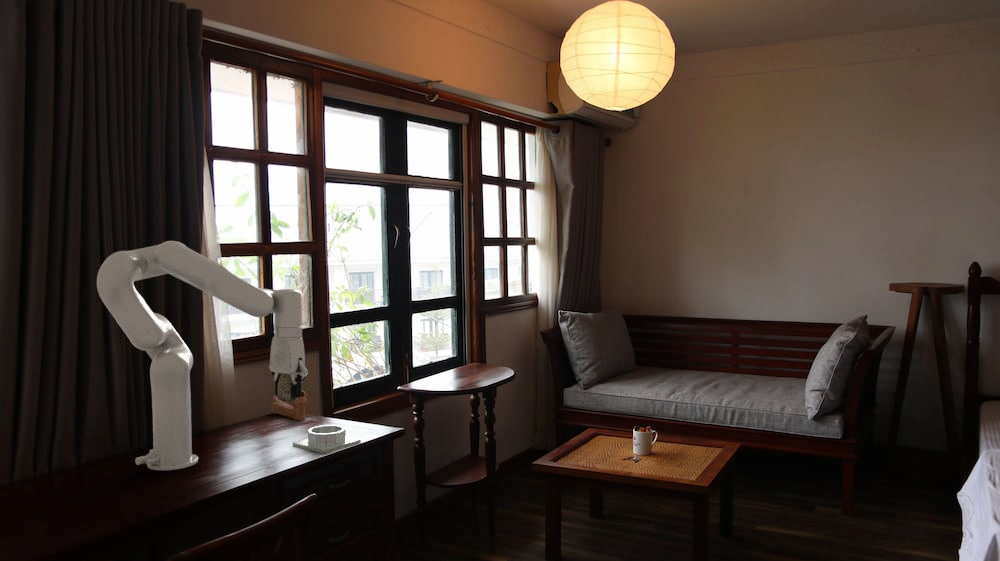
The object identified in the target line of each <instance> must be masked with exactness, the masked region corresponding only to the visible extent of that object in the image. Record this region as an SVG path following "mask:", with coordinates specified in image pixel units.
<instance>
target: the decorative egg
mask: <svg viewBox="0 0 1000 561" xmlns="http://www.w3.org/2000/svg"><path fill="white" fill-rule="evenodd" d="M280 374H281V375H280V378H279V381H278V386H277V393H278V395H277V397H278V399H279V400H281V401H283V402H285V403H287V404H289V403H292V402H293V401H294V400H295V399H296V398H291V384H293V383H292V379H291V375H289V374H282V373H280ZM295 377H296V378H297V375H295Z"/></svg>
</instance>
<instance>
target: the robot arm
mask: <svg viewBox="0 0 1000 561" xmlns="http://www.w3.org/2000/svg"><path fill="white" fill-rule="evenodd" d="M168 274H169V275H171V276H173V277H175V278H176V279H178V280H181V281H183V282H185V283H187V284H189V285H191V286H193V287H195V288H196V289H198V290H200V291H202V292H204V293H206V294H208V295H209V296H211V297H214V298H216V299H218V300H221V301H222V302H223V303H225V304H228V305H229V306H231V307H233V308H235V309H237V310H239V311H241V312H244V313H245V314H248V315H249V316H252V317H255V318H264V317H266V316H268V315H269V314H274V316H273V317H274V321H273V323H274V326H273V327H274V330H273V331H274V332H273V334H274V336H273V337H272V339H271V345H270V352H269V353H270V356H269V365H268V368H269V370H270V371H271V375H272V377H273V382H274V396H278V393H277V386H278V381H279V378H280V375H281V373H282V374H289V375H291V379H292V383H293V384H291V398H297V397H301V390H302V384H303V382H304V380H305V379H306V376H307V375H308V374H309V371H308V369H307V366H306V362H305V361H306V358H305V357H306V356H305V345H304V339H303V295H302V291H301V290H299V289H295V288H291V289H290V288H285V289H284V288H282V289H270V288H260V287H257V286H255V285H253V284H252V283H250V282H248V281H245V280H243V279H242V278H240V277H239V276H237V275H235V274H234V273H232V272H231V271H230V270H228V268H226V267H225V266H223V265H222V264H220V263H219V262H216V261H215V260H213V259H211V258H210V257H207V256H204V255H203V254H201V253H198V252H197V251H195V250H193V249H191V248H189V247H188V246H187V245H186V244H184V243H183V242H180V241H176V240H167V241H164V242H161V243H160V244H157V245H156V244H155V245H151V246H147V247H143V248H135V249H132V250H119V251H116V252H113V253H111V255H109V256H107V258H106V259H105V260H104V261H103V263H102V264H101V266H100V268H99V270H98V273H97V275H96V276H97V277H96V288H97V293H98V295H99V298H100V299H101V301H102V303H103V304H104V306H105V307H106V309H107V310H108V312H109V313H110V314H111V316H112V317H113V318H114V320H115V321H116V323H117V324H118V326H119V327H120V328H121V330H122V331H123V333H124V334H125V335H126V337H127V338H128V339H129V341H130V343H131V344H132V346H133V347H135V348H136V349H138V350H141V351H145V352H146V354H147V355H148V356H149V358H150V359H151V360H152V361H151V364H150V368H149V378H150V387H151V389H150V390H151V405H152V406H151V408H152V435H153V436H152V439H153V440H152V444H153V448H152V449H149V452H148V453H147V454H146V455H142V456H139V457H137V456H136V458H135V459H134V462H135V464H136V465H137V466H138V465H143V464H146V466H147V468H148V469H149V470H153V471H174V470H176V471H177V470H181V469H186V468H188V467H191V466H194V465H196V464H197V463H198V462H199V456H198V455H196V454H193V448H192V442H193V441H192V440H193V439H192V400H191V398H192V396H191V395H192V394H191V378H190V377H191V376H190V375H191V374H190V373H191V370H192V368H193V365H194V357H193V354H192V352H191V350H190V348H189V347H188V346H187V344H186V343H185V342H184V340H183V339H182V337H181V336H180V334H179V333H178V332H177V331H176V329H175V328H174V326H173V324H172V323H171V322H170V321H169V320H168V318H166V317H165V316H163V315H162V314H160V313H156V312H153V310H152V309H151V308H150V306H149V305H148V304H147V302H146V300H145V298H144V297H143V296H142V295H141V294H140V293H139V291H138V290H137V289H136V287H135V285H134V282H136V281H141V280H145V279H150V278H154V277H159V276H163V275H168ZM295 375H296V377H297V378H296V377H295Z"/></svg>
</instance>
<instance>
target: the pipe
mask: <svg viewBox="0 0 1000 561" xmlns="http://www.w3.org/2000/svg"><path fill="white" fill-rule="evenodd" d="M272 399H273V401H272V402H271V403H270V404H271V405H270V406H271V411H272V414H276V415H281V416H285V417H288V418H290V419H293V420H296V421H304V420H305V419H306V406H307V402H308V399H307V392H306V391H305V390H302V389H301V397H297V398H296V399H295V400H294V401H293V402H291V403H292V405H291V404H289V403H285V402H283V401H281V400H280V398H279V397H278V396H277V395H274V396H273V397H272ZM303 419H304V420H303Z"/></svg>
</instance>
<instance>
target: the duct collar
mask: <svg viewBox="0 0 1000 561" xmlns="http://www.w3.org/2000/svg"><path fill="white" fill-rule="evenodd" d="M346 432H347V431H346V428H345V426H344V425H342V426H341V425H338V424H337V425H336V424H323V425H317V426H313V427H310V428H309V429H308V430H307V438H305V439H301V440H298V441H294V442H292V447H295V448H299V449H303V450H308V451H312V452H317V453H321V454H329V453H332V452H335V451H339V450H342V449H344V448H347V447H351V446H353V445H357V444H360V443H361V442H362V440H361V438H356V437H351V436H347V435H346Z"/></svg>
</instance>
